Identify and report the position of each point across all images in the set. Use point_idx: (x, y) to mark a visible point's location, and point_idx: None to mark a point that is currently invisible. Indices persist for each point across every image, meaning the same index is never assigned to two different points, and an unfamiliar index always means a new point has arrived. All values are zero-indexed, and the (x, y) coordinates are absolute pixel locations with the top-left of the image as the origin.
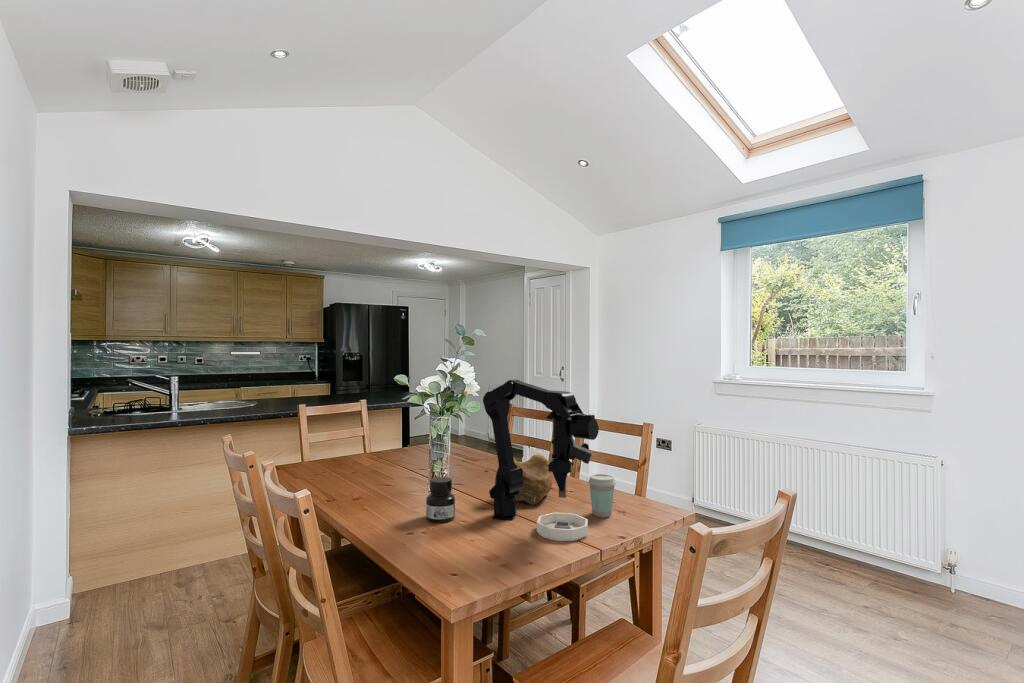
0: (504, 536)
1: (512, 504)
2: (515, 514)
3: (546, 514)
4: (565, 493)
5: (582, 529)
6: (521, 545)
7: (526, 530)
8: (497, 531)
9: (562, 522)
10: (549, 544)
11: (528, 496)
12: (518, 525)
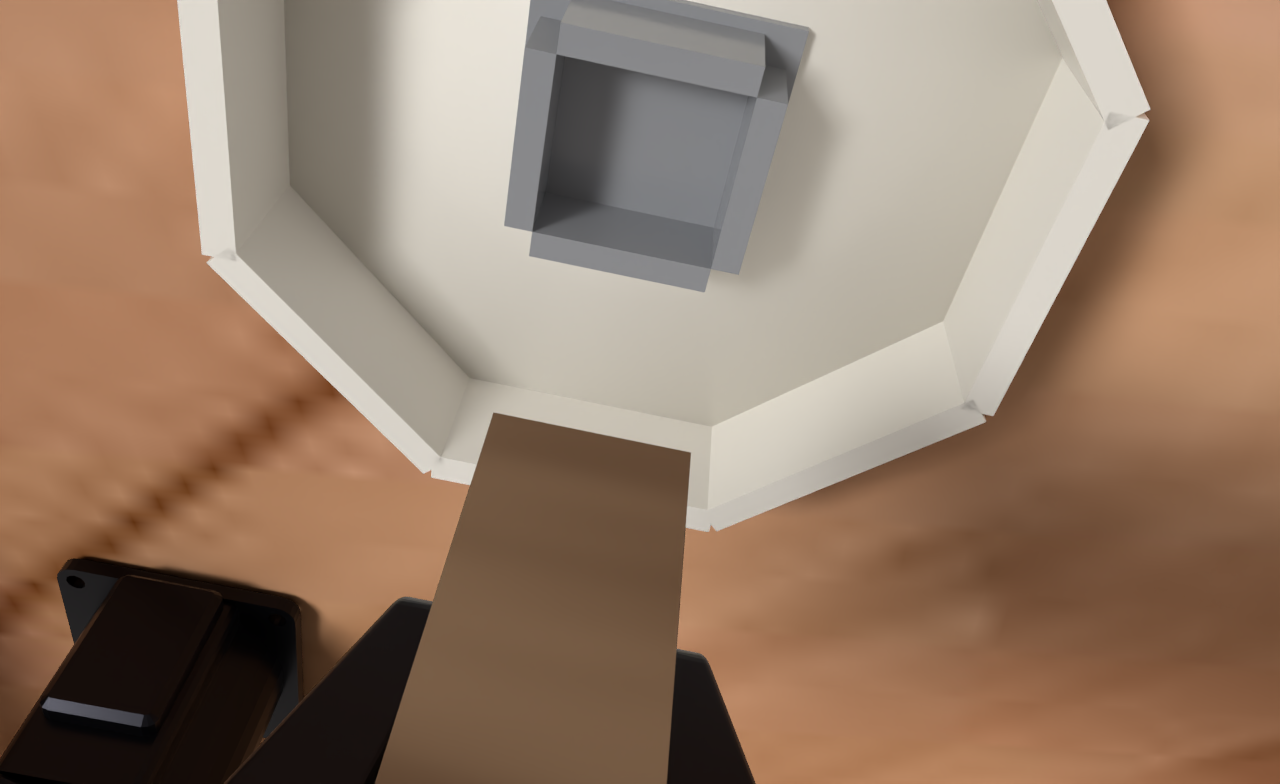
0: (777, 682)
1: (177, 732)
2: (209, 604)
3: (342, 385)
4: (680, 545)
5: None
6: (1052, 587)
7: None
8: None
9: (542, 151)
10: (1103, 335)
11: None
12: None
